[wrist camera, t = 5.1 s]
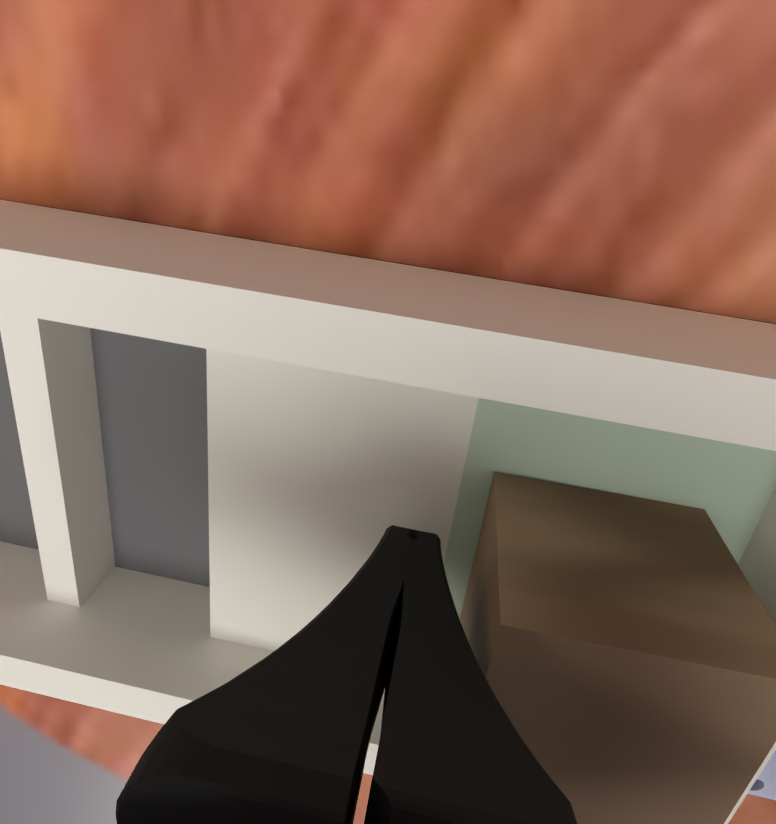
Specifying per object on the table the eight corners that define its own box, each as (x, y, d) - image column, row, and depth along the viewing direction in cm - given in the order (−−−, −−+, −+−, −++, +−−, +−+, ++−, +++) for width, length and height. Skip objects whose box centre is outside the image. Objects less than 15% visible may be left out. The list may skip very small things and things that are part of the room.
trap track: (849, 336, 12) (993, 416, 9) (663, 711, 18) (706, 856, 14) (-105, 182, 15) (-300, 197, 11) (-18, 559, 20) (-130, 652, 16)
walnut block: (704, 508, 13) (810, 686, 8) (639, 658, 14) (700, 859, 10) (494, 471, 13) (500, 624, 9) (458, 622, 15) (450, 804, 11)
